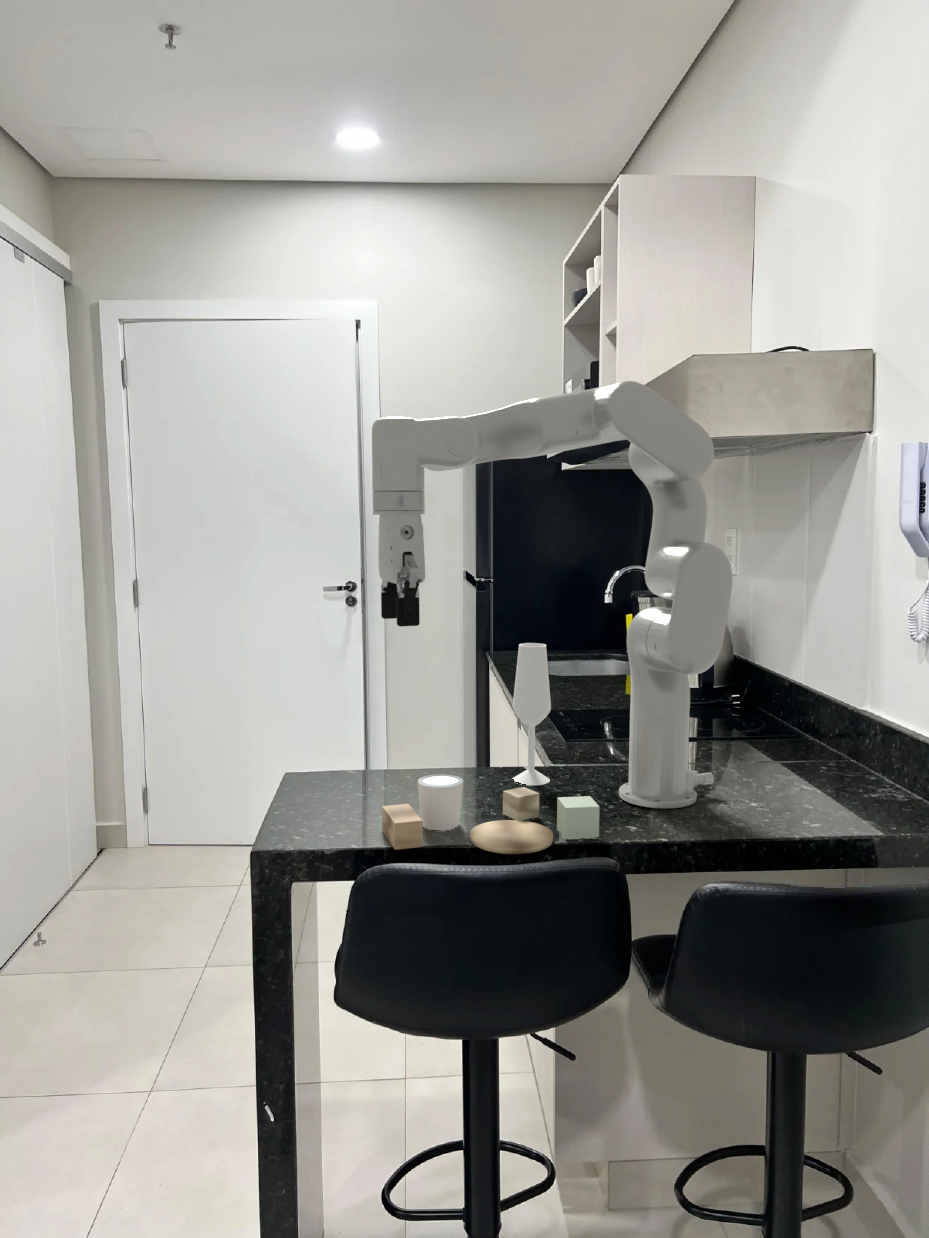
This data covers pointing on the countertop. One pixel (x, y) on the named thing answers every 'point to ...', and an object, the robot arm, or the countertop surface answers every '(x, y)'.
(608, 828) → the countertop surface
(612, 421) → the robot arm
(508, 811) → the birch cube
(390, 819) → the oak brick
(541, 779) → the champagne flute
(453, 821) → the shot glass
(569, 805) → the sage painted cube
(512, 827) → the cork trivet
